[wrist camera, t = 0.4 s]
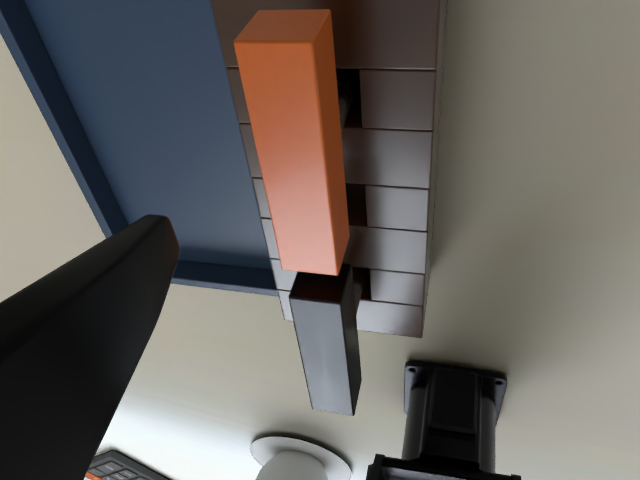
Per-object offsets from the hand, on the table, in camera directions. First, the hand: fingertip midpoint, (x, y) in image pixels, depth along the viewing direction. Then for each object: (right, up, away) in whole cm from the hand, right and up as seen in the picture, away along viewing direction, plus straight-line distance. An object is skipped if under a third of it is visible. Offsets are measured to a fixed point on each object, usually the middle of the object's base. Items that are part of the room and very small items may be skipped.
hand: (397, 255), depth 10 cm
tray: (-9, +6, +17) cm, 20 cm away
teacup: (-3, -21, +42) cm, 46 cm away
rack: (0, +5, +15) cm, 16 cm away
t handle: (0, +8, +12) cm, 14 cm away
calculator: (-24, -31, +58) cm, 70 cm away
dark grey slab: (+1, +1, +18) cm, 18 cm away
